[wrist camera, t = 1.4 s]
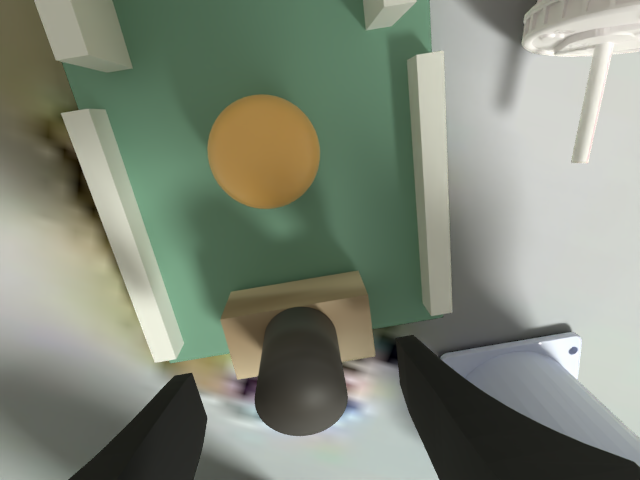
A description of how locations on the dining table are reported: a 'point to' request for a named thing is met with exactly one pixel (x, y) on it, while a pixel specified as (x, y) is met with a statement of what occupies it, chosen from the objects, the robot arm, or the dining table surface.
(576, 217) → the dining table surface
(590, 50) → the smoothie
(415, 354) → the robot arm
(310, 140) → the ball
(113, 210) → the pitch
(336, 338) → the striker
